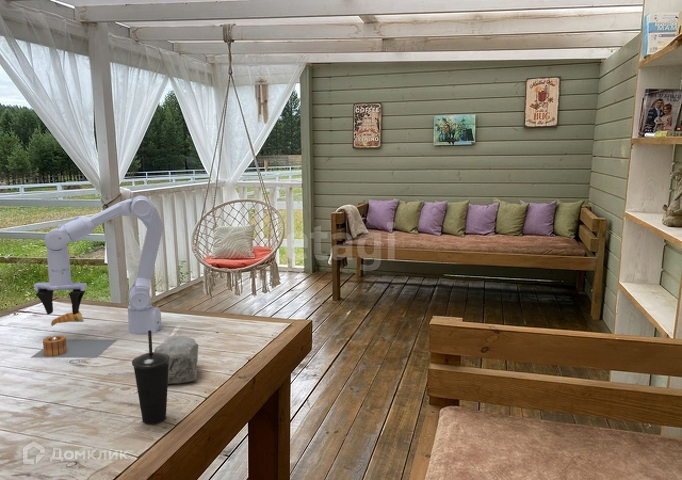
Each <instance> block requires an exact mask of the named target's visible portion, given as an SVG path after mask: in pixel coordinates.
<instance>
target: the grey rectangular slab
mask: <svg viewBox="0 0 682 480" xmlns="http://www.w3.org/2000/svg"><path fill="white" fill-rule="evenodd" d="M117 341H118V339H117V338H116V339H110V338H108V339H107V338H105V339H102V338H101V339H98V338H97V339H96V338H95V339H94V338H92V339H91V338H90V339H87V338H83V339H82V338H80V339H79V338H77V339H71V338H70V339H69V338H66V346H67V352H66V353H64V354H62V355H58V356H45V355H44V348H42V349H40V350H39V351H38V352H36V353H35V354H32V356H30V358H31V359H33V358H35V359H36V358H41V359H42V358H47V359H48V358H57V359H58V358H63V359H64V358H67V359H68V358H73V359H74V358H79V359H80V358H84V359H85V358H88V359H89V358H96V359H97V358H98V357H100V355H102V354H103V353H104V352H105V351H106V350H107V349H108V348H110V347H111V346H112V345H113V344H114V343H115V342H117Z"/></svg>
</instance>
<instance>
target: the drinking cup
mask: <svg viewBox="0 0 682 480" xmlns="http://www.w3.org/2000/svg"><path fill="white" fill-rule="evenodd" d="M152 334H153V333H151V330H149V331H148V333H147V336H148V337H147V338H148V340H147V341H148V352H146V353H143V354H141V355H139V356H136V357H135V358H133V359H132V361H131V365H132V366H133V371H134V376H135V382H136V389H137V395H138V401H139V408H140V413H141V420H142V423H144V424H146V425H150V426H151V425H157V424H160V423H162V422H164V421H165V420H166V419H167V407H168V403H167V402H168V389H169V388H168V386H169V384H168V368H169V361H170V356H169V355H167V354H164V353H159V352H154V351H153V335H152Z"/></svg>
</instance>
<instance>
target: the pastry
mask: <svg viewBox="0 0 682 480" xmlns="http://www.w3.org/2000/svg"><path fill="white" fill-rule="evenodd" d="M74 322H75V323H83V322H84V317H83V315H82V312H81V311H80V310H79V313H77V314H75V315H73V312H67V313H65V314H63V315H61V316H58V317H56V318H54V319H52V320H51V322H50V323H51V326H53V327H54V326H55V325H57V324H62V323H74Z"/></svg>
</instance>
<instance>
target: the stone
mask: <svg viewBox="0 0 682 480" xmlns="http://www.w3.org/2000/svg"><path fill="white" fill-rule="evenodd" d="M153 350H154V351H153V352H159V353H164V354H167V355H169V356H170V361H169V368H168V385H170V384H182V383H189V382H195V381H196V380H198V369H197V367H198V366H197V364H198V357H199V352H198V351H199V344H198V343H197V342H196V340H195V339H194V338H192V337H189V336H188V335H187V336H186V335H170V336H167V338H165V340H164V341H163V342H162V343H161V344H159V345H158V346H156V347H155V349H153Z"/></svg>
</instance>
